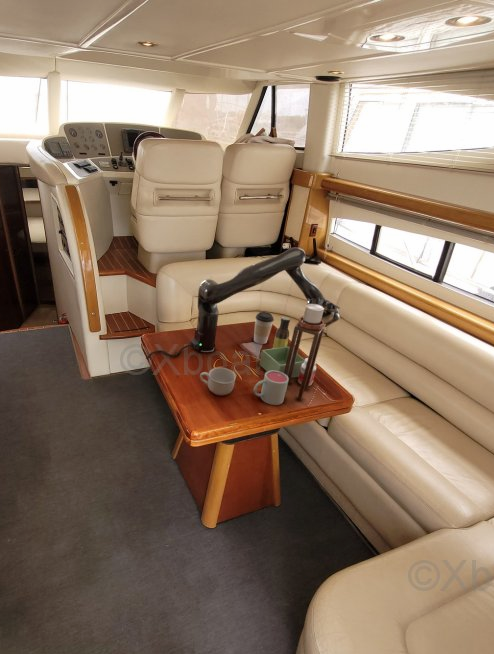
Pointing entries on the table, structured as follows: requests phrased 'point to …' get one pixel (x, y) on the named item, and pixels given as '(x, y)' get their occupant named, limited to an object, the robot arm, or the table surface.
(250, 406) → the table surface
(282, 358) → the bin
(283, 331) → the sauce bottle
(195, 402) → the table surface
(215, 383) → the teacup
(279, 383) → the mug
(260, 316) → the coffee cup
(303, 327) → the stand
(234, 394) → the table surface
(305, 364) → the pill bottle
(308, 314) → the small saucepan
